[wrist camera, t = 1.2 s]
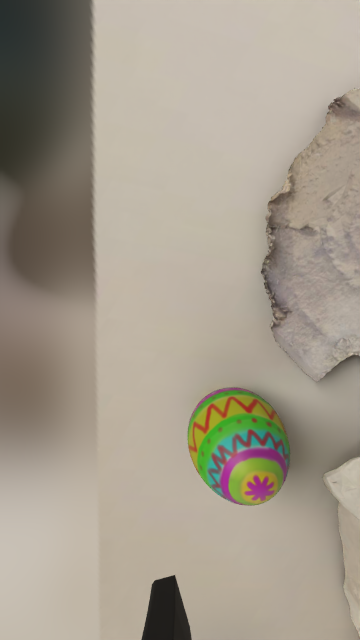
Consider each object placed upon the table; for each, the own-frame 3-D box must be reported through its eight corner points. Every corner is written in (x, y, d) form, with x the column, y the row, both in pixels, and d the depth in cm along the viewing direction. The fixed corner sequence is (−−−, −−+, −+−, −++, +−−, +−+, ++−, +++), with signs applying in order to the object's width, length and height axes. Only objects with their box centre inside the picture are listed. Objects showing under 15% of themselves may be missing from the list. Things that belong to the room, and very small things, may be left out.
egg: (273, 380, 19) (329, 438, 13) (258, 456, 20) (305, 543, 14) (189, 373, 18) (207, 430, 12) (178, 451, 19) (191, 539, 13)
